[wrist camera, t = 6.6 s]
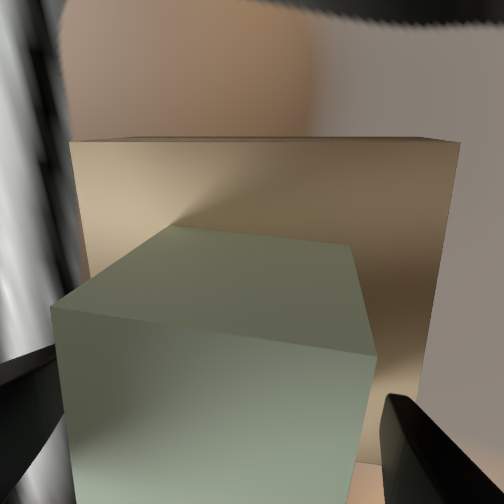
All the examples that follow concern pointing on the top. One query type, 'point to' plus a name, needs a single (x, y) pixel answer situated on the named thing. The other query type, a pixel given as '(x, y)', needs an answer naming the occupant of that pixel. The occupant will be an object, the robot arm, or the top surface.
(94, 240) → the oak block
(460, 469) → the robot arm
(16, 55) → the top surface
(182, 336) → the sage cube
